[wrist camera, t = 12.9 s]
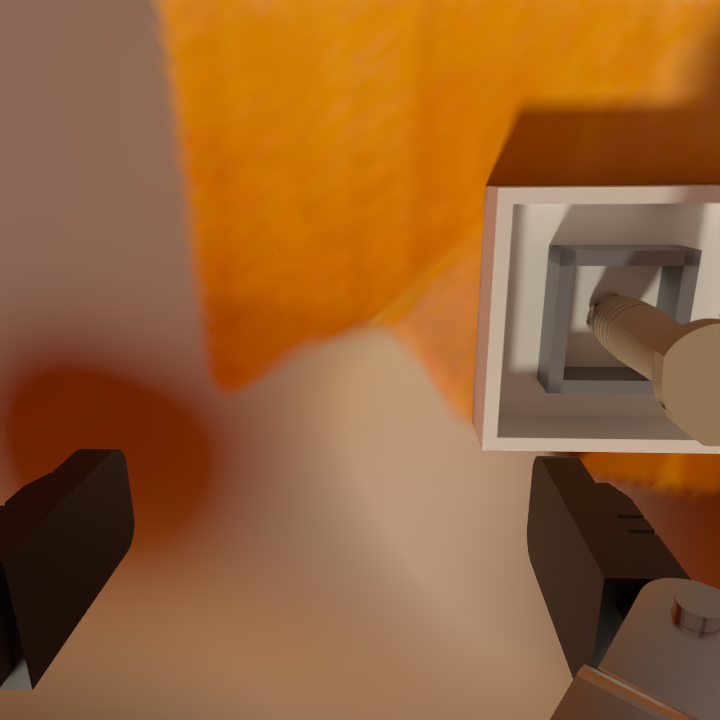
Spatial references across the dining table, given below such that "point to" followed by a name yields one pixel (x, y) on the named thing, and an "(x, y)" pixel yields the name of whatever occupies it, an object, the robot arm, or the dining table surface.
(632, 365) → the handle
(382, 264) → the dining table surface
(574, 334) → the box
